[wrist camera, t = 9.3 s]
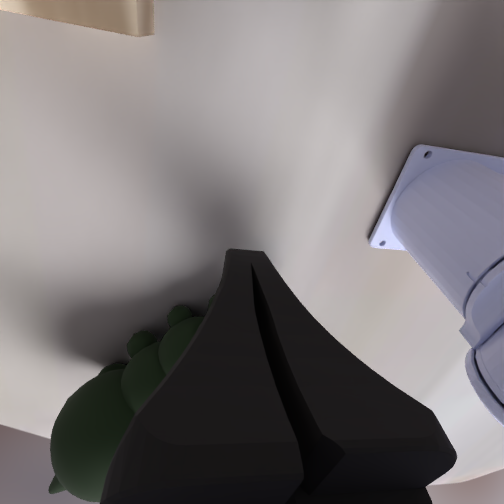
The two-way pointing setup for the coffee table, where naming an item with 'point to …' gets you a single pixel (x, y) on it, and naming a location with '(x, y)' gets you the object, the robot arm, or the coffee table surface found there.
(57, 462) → the toy figurine
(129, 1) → the beech block
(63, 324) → the coffee table surface
